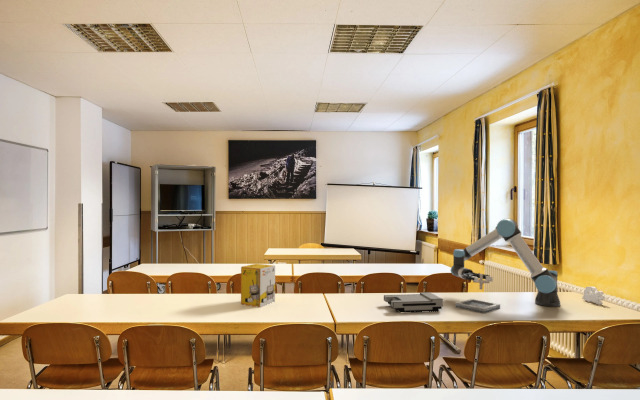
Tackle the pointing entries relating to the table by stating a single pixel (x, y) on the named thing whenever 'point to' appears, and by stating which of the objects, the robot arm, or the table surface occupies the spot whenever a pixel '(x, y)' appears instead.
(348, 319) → the table surface
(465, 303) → the carrier plate
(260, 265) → the packaging box
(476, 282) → the pipe connector
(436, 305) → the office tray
